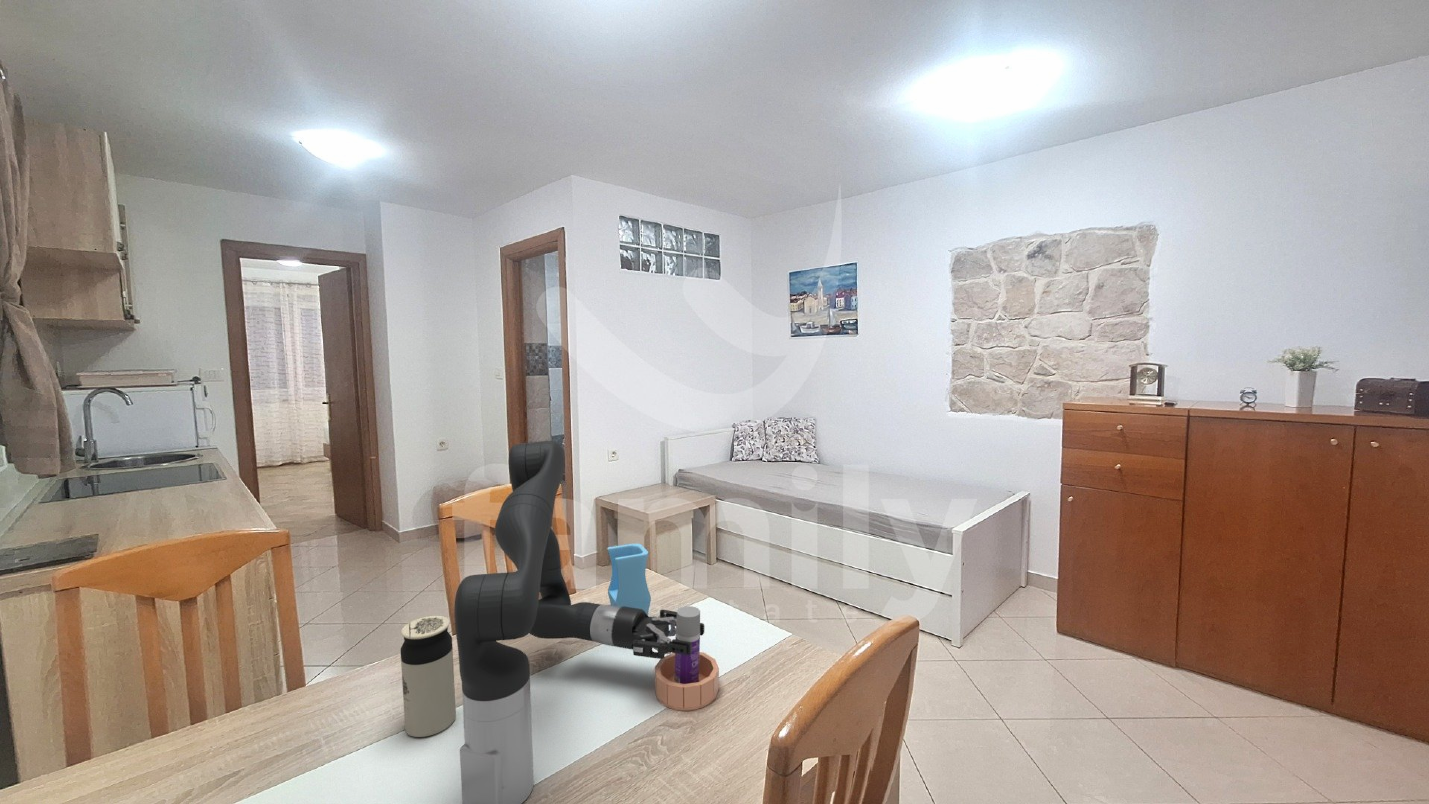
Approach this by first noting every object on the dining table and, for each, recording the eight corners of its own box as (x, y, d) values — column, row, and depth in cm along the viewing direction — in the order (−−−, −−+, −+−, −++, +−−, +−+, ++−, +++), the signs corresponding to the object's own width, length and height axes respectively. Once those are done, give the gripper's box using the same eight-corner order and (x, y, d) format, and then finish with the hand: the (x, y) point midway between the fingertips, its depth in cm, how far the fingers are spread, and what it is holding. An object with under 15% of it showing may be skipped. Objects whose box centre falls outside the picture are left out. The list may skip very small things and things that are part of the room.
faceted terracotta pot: (706, 716, 98) (706, 692, 98) (645, 703, 102) (645, 680, 101) (725, 678, 110) (725, 656, 109) (669, 668, 113) (669, 646, 113)
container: (695, 695, 103) (697, 618, 102) (671, 691, 104) (673, 615, 102) (700, 680, 108) (703, 607, 106) (677, 677, 108) (679, 604, 107)
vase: (608, 630, 129) (606, 547, 127) (641, 622, 132) (639, 542, 130) (617, 646, 122) (615, 559, 120) (651, 638, 125) (650, 553, 123)
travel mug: (457, 704, 102) (452, 611, 100) (454, 731, 94) (449, 632, 93) (409, 714, 99) (403, 619, 97) (401, 744, 92) (395, 641, 90)
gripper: (600, 625, 102) (684, 638, 97) (634, 592, 115) (709, 603, 111) (601, 663, 103) (684, 679, 98) (635, 626, 116) (709, 638, 111)
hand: (697, 638), depth 104 cm, fingers open, 6 cm apart
